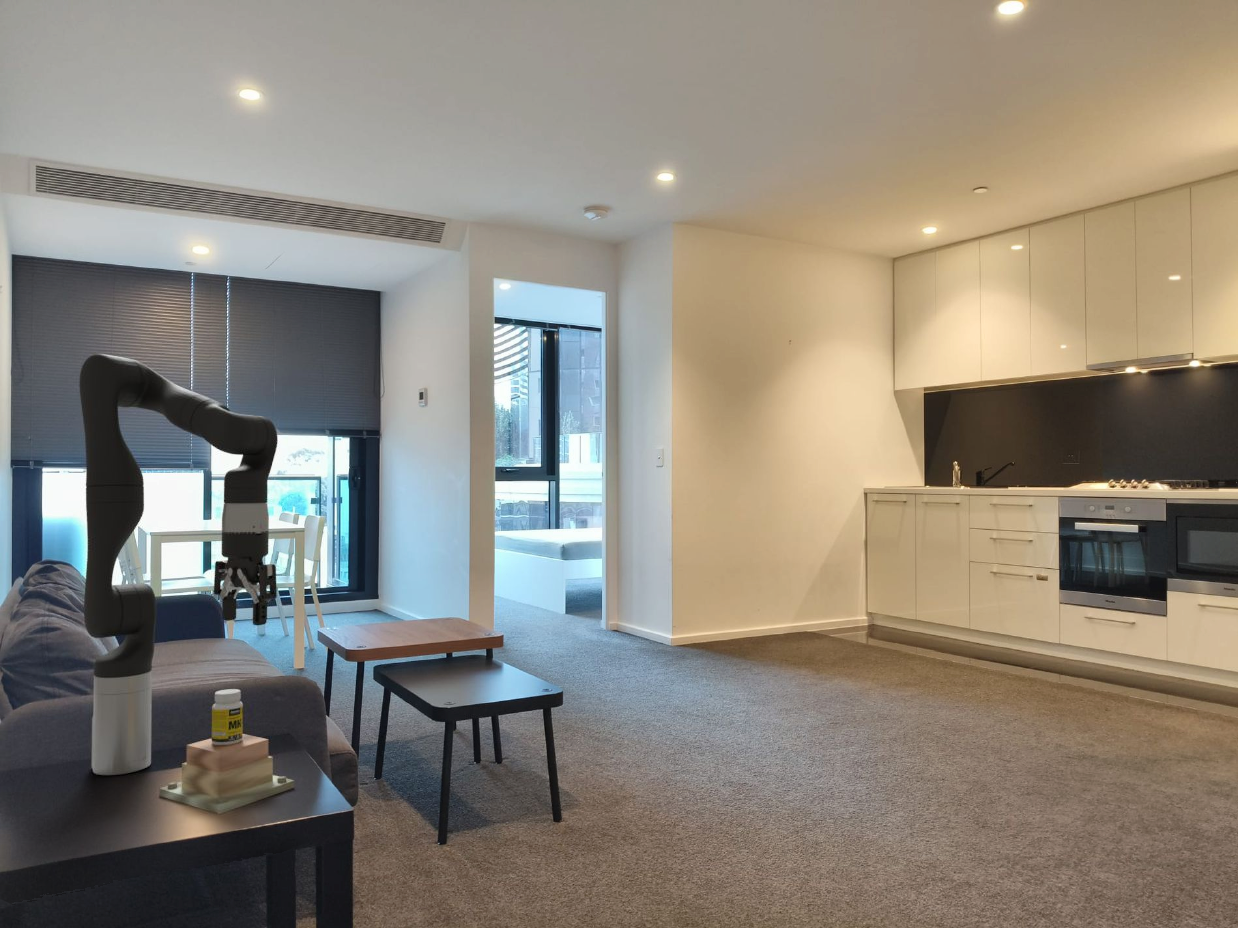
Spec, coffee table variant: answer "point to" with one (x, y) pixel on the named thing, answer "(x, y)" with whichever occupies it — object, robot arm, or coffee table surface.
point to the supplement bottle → (227, 717)
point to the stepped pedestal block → (226, 775)
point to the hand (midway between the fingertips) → (244, 622)
